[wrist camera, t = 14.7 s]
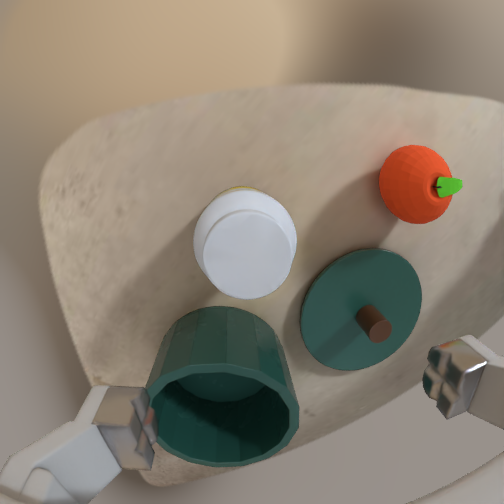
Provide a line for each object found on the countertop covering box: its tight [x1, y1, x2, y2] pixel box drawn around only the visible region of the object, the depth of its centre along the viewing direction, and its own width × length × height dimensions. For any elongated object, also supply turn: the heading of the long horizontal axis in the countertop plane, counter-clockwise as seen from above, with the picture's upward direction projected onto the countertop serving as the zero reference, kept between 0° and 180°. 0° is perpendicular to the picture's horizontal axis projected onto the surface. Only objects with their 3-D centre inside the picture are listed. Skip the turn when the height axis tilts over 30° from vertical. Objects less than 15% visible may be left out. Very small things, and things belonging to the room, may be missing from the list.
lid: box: [300, 248, 422, 370], centre depth 28 cm, size 14×14×5 cm
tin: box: [145, 306, 299, 467], centre depth 26 cm, size 13×13×10 cm
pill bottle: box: [193, 186, 297, 300], centre depth 21 cm, size 6×6×12 cm
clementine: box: [379, 145, 462, 224], centre depth 23 cm, size 8×7×7 cm
